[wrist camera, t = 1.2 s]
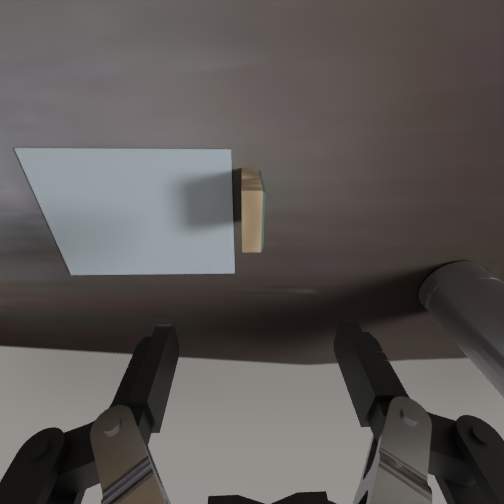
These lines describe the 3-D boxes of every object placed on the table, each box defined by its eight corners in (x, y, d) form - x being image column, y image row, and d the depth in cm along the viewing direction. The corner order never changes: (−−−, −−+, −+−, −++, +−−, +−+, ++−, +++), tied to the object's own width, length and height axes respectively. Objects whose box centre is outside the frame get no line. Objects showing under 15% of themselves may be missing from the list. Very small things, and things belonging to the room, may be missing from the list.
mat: (231, 148, 27) (230, 149, 26) (234, 271, 35) (234, 273, 35) (16, 147, 26) (13, 148, 26) (72, 273, 34) (71, 275, 34)
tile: (259, 168, 28) (265, 190, 21) (258, 218, 31) (263, 252, 24) (241, 168, 28) (241, 190, 21) (242, 218, 31) (242, 252, 24)
